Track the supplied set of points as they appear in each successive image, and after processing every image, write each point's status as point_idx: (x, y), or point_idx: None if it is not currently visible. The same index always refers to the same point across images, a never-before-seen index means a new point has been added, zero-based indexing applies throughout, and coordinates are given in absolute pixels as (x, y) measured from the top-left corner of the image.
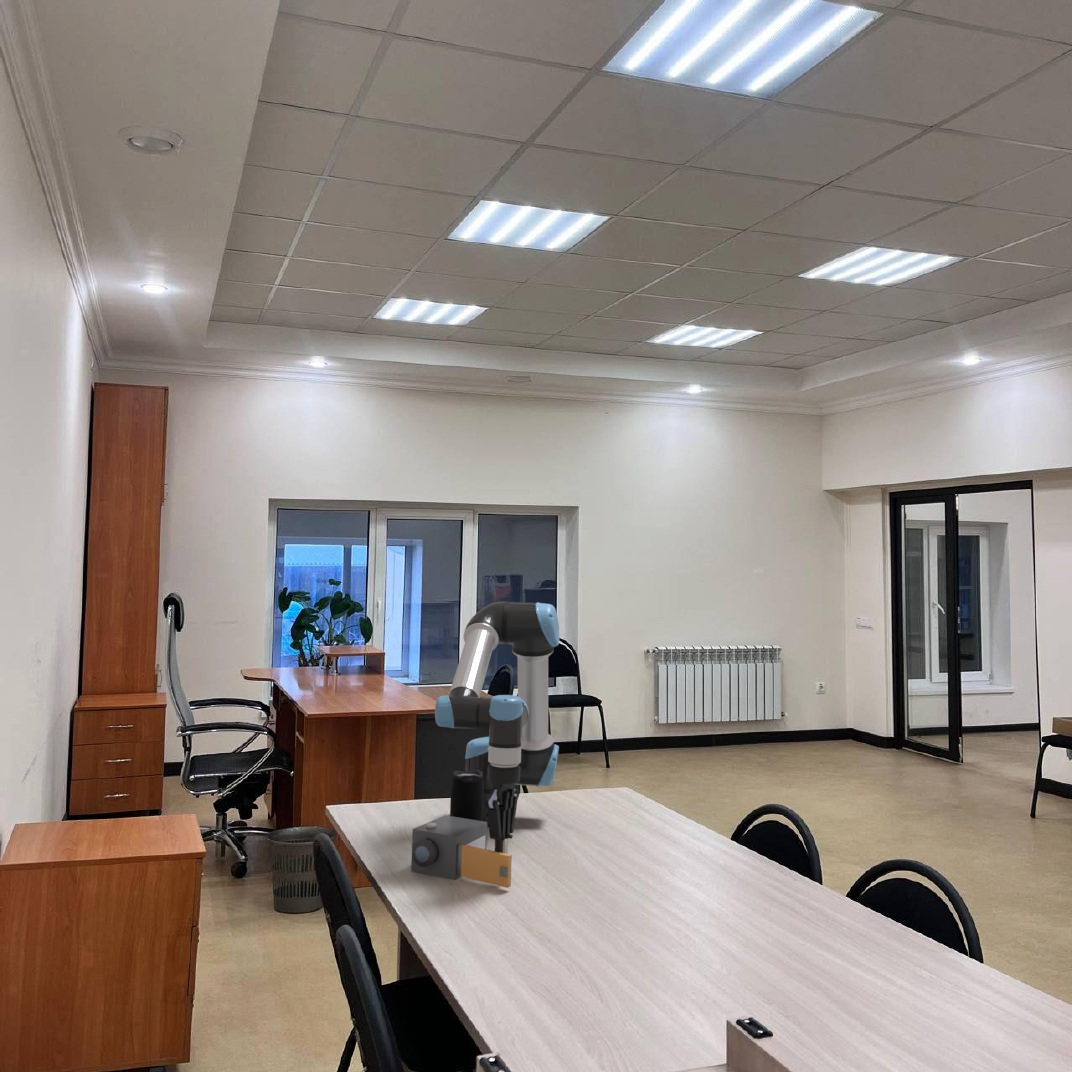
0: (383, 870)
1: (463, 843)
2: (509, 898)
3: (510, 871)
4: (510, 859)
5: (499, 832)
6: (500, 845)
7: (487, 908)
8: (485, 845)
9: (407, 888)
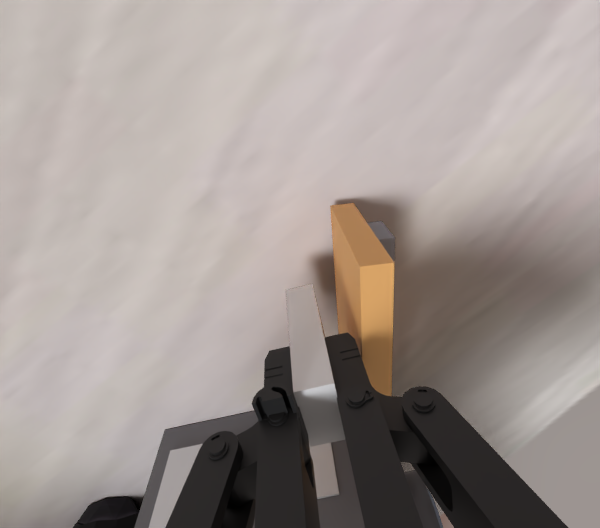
0: None
1: (332, 507)
2: (404, 144)
3: (347, 228)
4: (367, 253)
5: (460, 434)
6: (364, 369)
7: (555, 132)
8: (154, 488)
9: (500, 417)
